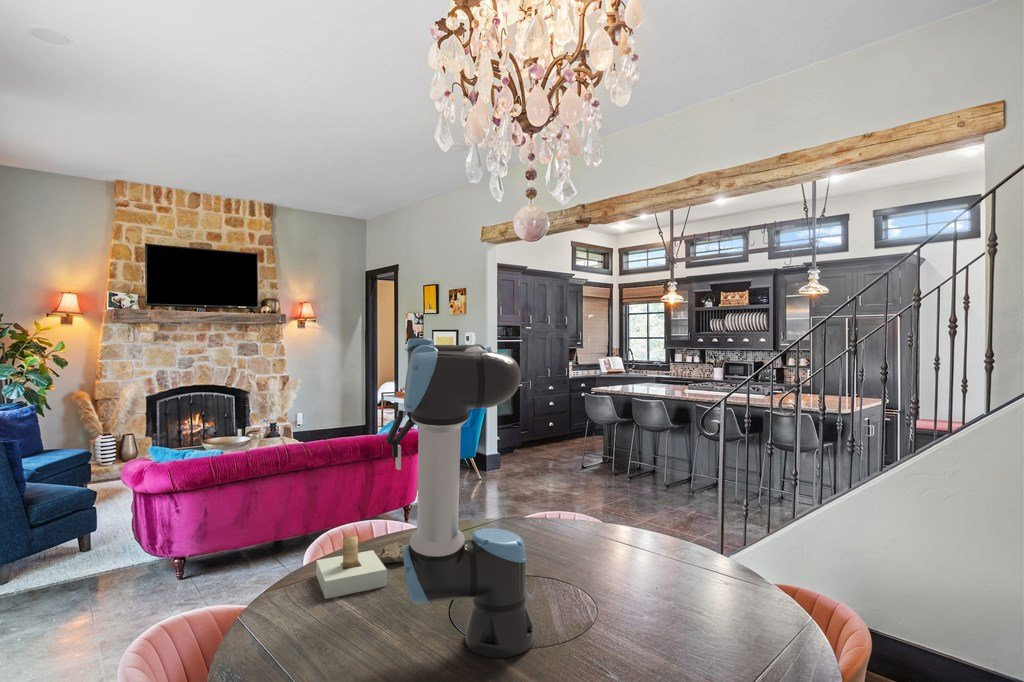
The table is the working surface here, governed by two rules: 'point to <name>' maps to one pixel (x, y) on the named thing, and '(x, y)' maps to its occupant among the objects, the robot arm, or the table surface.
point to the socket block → (350, 575)
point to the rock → (392, 553)
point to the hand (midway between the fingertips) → (421, 466)
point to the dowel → (350, 551)
